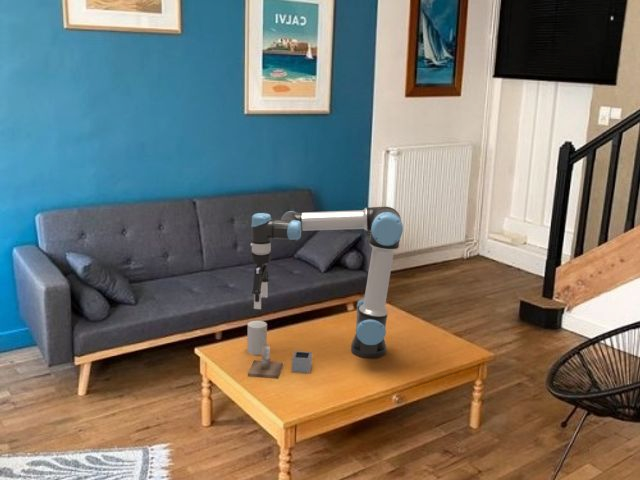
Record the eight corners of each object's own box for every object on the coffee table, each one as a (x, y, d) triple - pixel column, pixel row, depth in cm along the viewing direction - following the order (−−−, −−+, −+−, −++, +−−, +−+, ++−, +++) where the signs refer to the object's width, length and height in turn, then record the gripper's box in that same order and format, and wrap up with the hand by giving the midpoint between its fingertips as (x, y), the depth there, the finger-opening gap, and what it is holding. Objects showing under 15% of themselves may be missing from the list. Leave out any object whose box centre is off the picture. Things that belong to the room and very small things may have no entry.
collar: (311, 365, 276) (311, 352, 274) (309, 373, 269) (309, 359, 268) (294, 364, 276) (294, 350, 275) (291, 372, 270) (292, 358, 268)
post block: (282, 365, 275) (283, 341, 273) (278, 378, 264) (278, 354, 261) (253, 362, 277) (253, 339, 274) (247, 376, 265) (247, 352, 262)
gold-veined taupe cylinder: (263, 355, 284) (263, 329, 280) (244, 353, 285) (245, 326, 282) (268, 347, 291) (269, 321, 288) (250, 345, 293) (250, 319, 290)
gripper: (258, 243, 282) (258, 291, 287) (244, 260, 258) (245, 313, 263) (276, 244, 281) (275, 293, 286) (264, 261, 257) (264, 314, 262)
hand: (260, 302), depth 275 cm, fingers open, 13 cm apart
